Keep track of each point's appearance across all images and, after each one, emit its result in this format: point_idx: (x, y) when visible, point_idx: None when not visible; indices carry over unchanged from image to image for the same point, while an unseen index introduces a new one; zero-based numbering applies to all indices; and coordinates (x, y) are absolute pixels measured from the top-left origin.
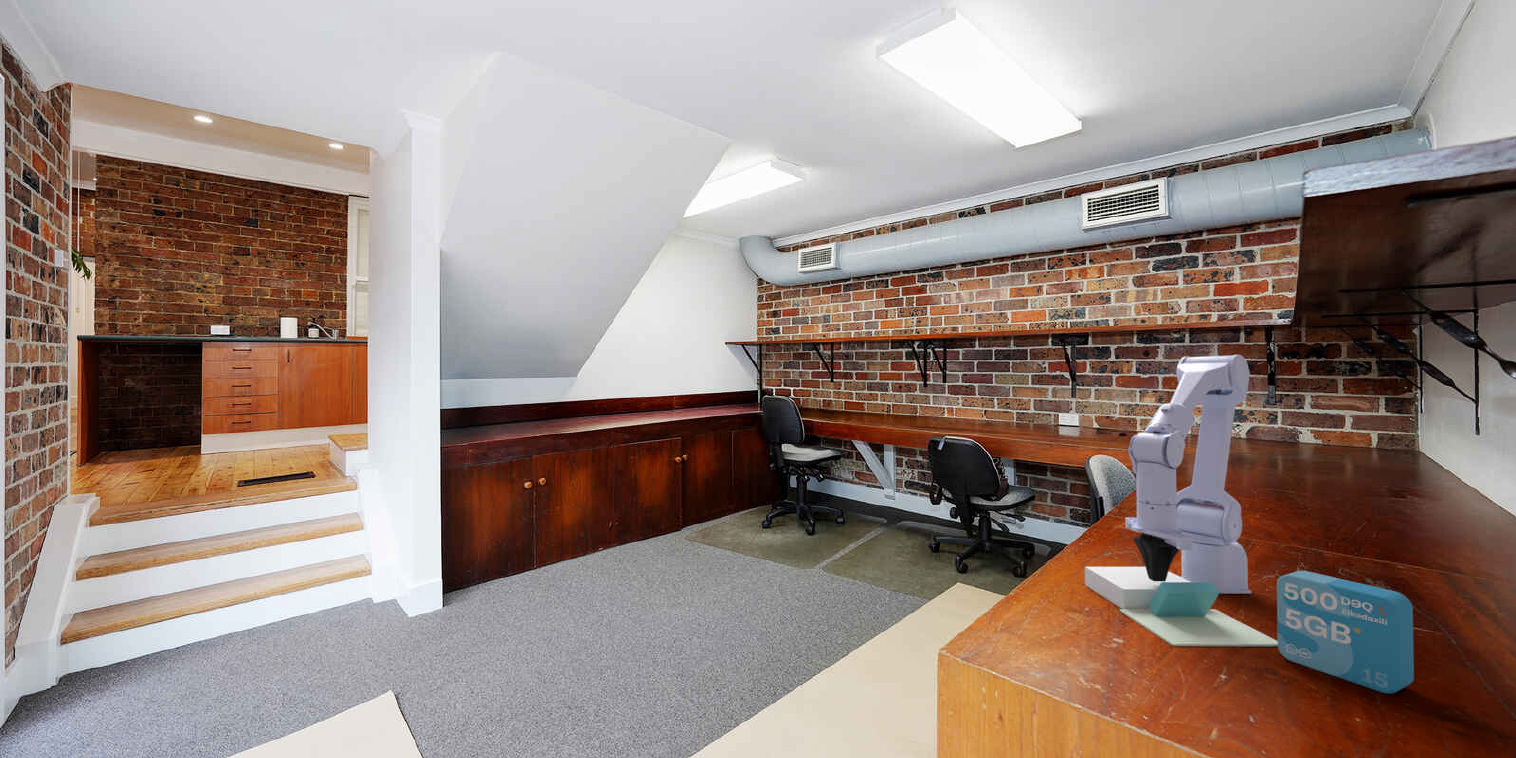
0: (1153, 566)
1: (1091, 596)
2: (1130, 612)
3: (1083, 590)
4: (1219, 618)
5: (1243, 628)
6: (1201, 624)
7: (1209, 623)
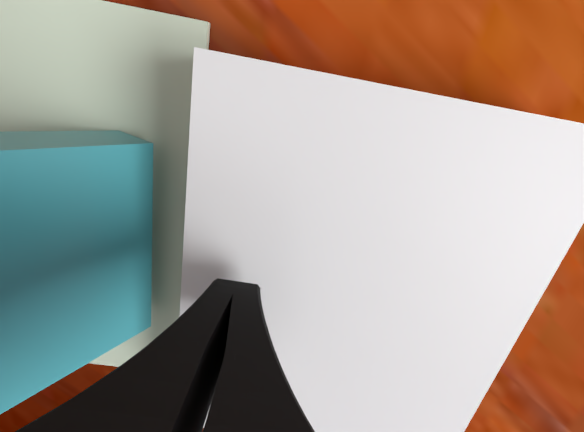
0: (162, 332)
1: (408, 30)
2: (162, 45)
3: (489, 53)
4: None
5: None
6: None
7: None
